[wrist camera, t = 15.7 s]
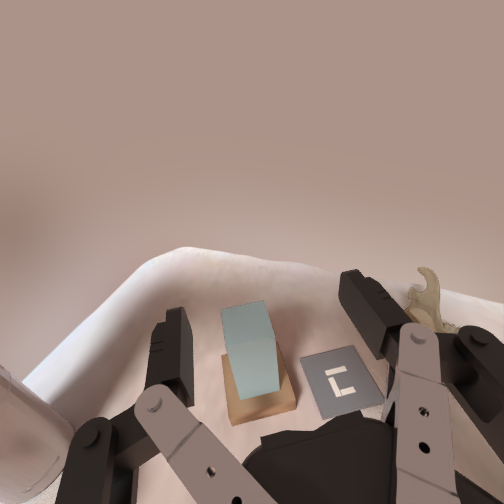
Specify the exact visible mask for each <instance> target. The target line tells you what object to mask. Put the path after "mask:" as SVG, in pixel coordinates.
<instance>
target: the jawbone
mask: <svg viewBox="0 0 504 504" xmlns="http://www.w3.org/2000/svg"><path fill="white" fill-rule="evenodd" d="M417 270H418V271H419V272H420V273H421V274H422V275H423V276H424V277H425V279H426V282H427V288H426V290H425V291H424V292H417V291H416V290H415V288H413V287H411V288H410V290H409V292H408V299H412V301H411V304H410V306H409V307H408V308H407V309H405V310H404V312H405V313H406V314H407V315H408V316H409V317H410V318H411V320H412V321H413V322H414V323H419V324H422V325H424V326H426V327H428V328H430V329H431V330H432V331H433V332H438V333H456V334H457V333H458V331H459V329H460V327H458V328H456V326H455V325H454V324H453V325H449V323H446V324H443V323H442V322H441V316H440V311H439V302H440V286H439V281H438V278H437V276H436V274H435V273H434V271H433V270H431V269H429V268H426V267H419V268H418V269H417Z"/></svg>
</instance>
